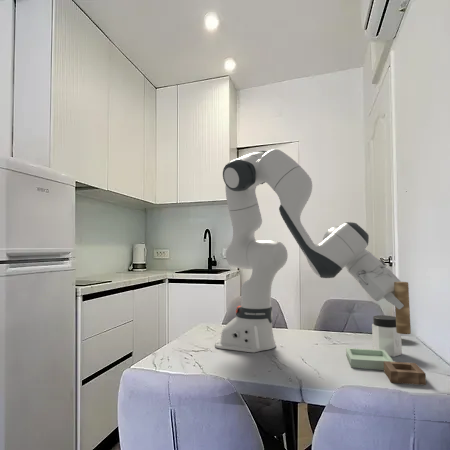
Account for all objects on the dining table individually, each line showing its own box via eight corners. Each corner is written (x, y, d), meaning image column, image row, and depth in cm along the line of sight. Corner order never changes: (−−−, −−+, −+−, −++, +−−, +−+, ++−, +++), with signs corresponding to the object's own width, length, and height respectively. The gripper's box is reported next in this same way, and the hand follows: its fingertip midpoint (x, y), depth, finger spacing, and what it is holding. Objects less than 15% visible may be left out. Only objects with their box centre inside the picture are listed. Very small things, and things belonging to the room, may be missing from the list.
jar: (391, 358, 112) (389, 320, 113) (368, 352, 119) (367, 317, 120) (406, 353, 117) (404, 317, 118) (383, 348, 124) (382, 314, 125)
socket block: (391, 382, 92) (390, 371, 92) (384, 371, 100) (383, 361, 100) (426, 385, 90) (425, 373, 90) (415, 373, 98) (415, 363, 98)
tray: (351, 367, 103) (350, 359, 104) (346, 355, 115) (346, 347, 115) (394, 370, 101) (394, 361, 101) (384, 357, 112) (384, 350, 113)
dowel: (398, 333, 95) (396, 283, 96) (394, 330, 99) (392, 281, 100) (412, 334, 95) (410, 283, 95) (408, 331, 98) (405, 281, 99)
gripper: (362, 264, 94) (403, 304, 87) (384, 261, 110) (420, 294, 103) (347, 280, 97) (385, 319, 90) (370, 274, 113) (405, 307, 106)
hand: (404, 306), depth 97 cm, fingers closed on dowel, 4 cm apart
